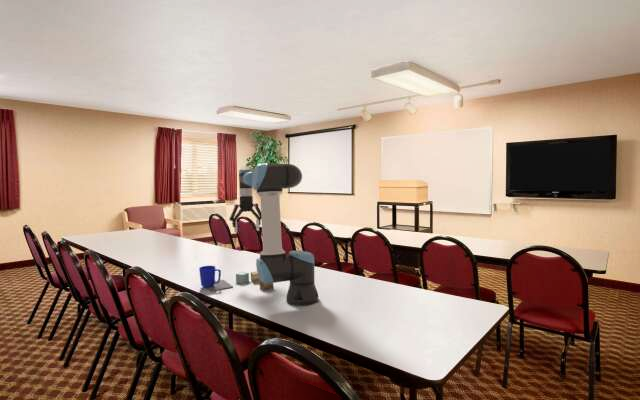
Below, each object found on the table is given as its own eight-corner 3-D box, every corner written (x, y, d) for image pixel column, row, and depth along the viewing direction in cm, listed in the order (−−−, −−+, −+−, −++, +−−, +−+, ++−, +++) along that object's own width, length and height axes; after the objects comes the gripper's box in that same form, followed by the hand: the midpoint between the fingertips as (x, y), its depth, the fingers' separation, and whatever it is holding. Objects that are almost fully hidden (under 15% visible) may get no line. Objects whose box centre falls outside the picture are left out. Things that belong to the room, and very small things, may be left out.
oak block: (261, 281, 201) (261, 273, 201) (252, 283, 199) (252, 274, 199) (259, 279, 206) (259, 271, 205) (250, 280, 204) (250, 272, 203)
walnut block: (273, 288, 189) (273, 279, 188) (266, 290, 185) (265, 281, 185) (267, 286, 192) (266, 277, 192) (259, 288, 188) (259, 279, 188)
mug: (216, 289, 186) (215, 270, 186) (196, 287, 190) (196, 268, 189) (225, 284, 194) (224, 266, 193) (206, 283, 198) (205, 265, 197)
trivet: (233, 287, 191) (232, 286, 191) (210, 291, 184) (210, 290, 184) (223, 280, 204) (223, 279, 204) (201, 284, 198) (201, 283, 198)
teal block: (248, 281, 202) (248, 272, 202) (243, 283, 198) (243, 274, 197) (241, 280, 204) (241, 271, 204) (236, 282, 200) (235, 273, 200)
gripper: (263, 194, 219) (263, 229, 221) (223, 196, 206) (224, 232, 207) (268, 195, 213) (269, 230, 214) (227, 196, 199) (228, 234, 201)
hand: (247, 231), depth 211 cm, fingers open, 13 cm apart
